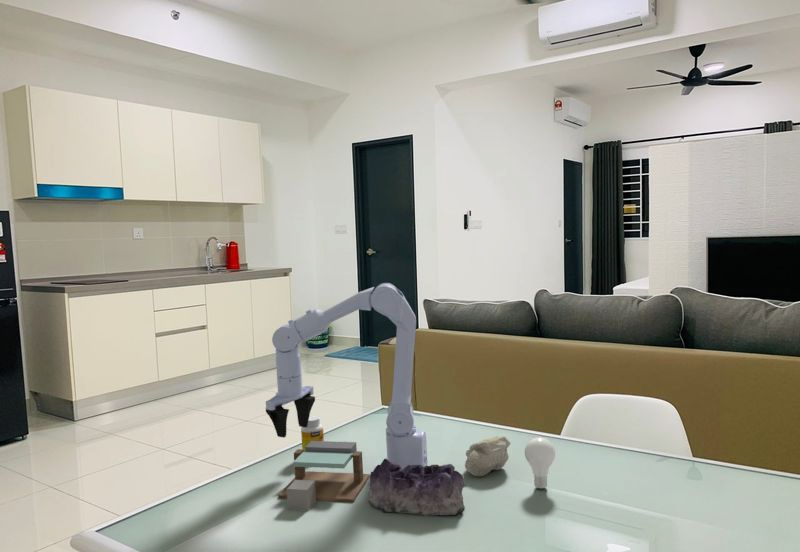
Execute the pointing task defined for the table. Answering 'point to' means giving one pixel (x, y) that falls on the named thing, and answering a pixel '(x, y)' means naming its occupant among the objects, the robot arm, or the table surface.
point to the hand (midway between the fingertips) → (292, 431)
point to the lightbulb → (540, 459)
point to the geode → (416, 489)
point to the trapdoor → (326, 454)
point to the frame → (333, 481)
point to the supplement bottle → (312, 431)
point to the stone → (301, 495)
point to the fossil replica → (487, 456)
